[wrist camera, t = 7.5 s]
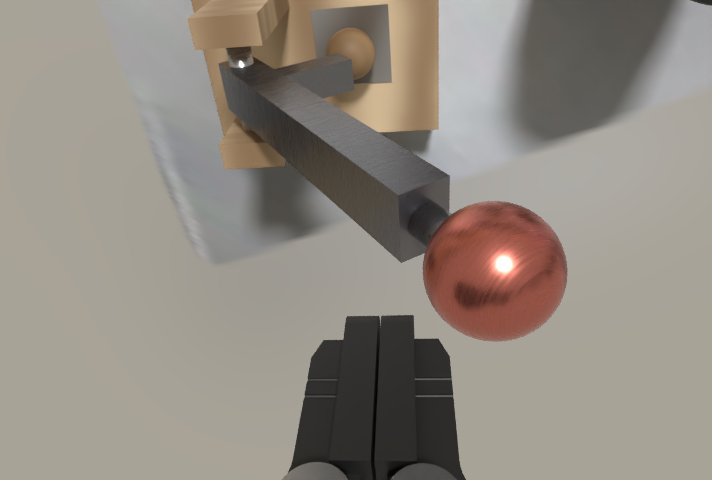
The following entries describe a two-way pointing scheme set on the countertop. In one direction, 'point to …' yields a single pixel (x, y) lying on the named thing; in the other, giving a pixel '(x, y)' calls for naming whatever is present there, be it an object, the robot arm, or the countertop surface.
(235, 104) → the lever
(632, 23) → the countertop surface
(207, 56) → the cracker base
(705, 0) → the jar
